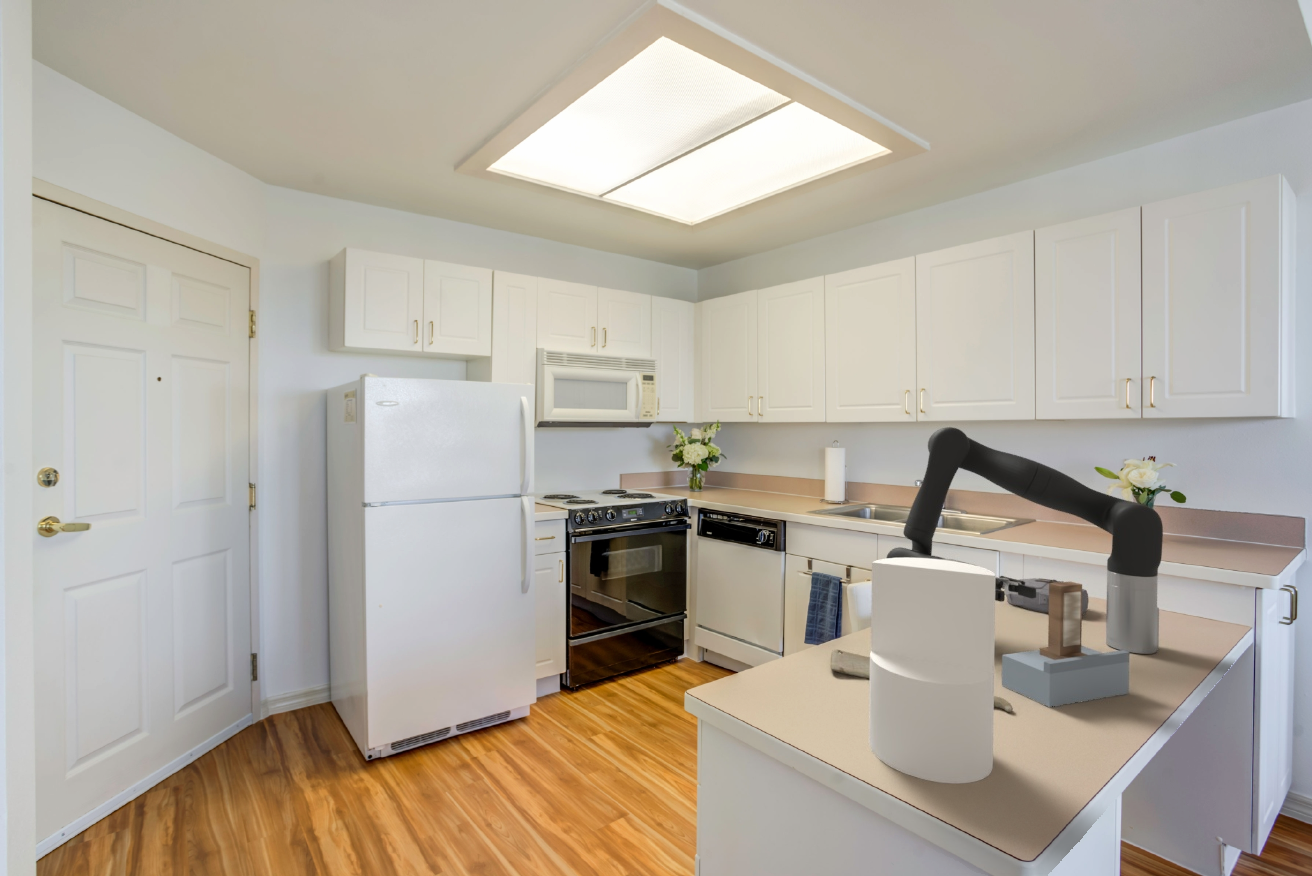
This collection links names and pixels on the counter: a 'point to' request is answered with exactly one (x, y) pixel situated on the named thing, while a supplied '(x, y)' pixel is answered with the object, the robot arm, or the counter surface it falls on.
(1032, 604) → the grey rounded bag
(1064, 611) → the brown wooden block
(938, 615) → the cylinder
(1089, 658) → the display riser
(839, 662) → the decorative wall piece
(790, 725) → the counter surface
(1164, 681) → the counter surface
